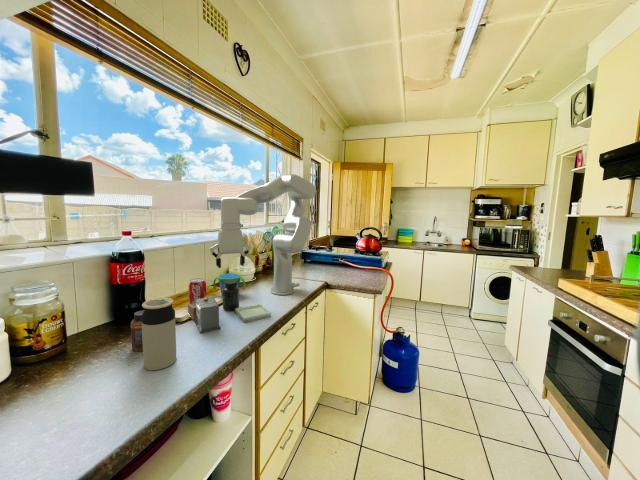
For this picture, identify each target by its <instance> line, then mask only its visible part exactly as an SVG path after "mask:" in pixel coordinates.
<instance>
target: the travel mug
mask: <svg viewBox="0 0 640 480" xmlns="http://www.w3.org/2000/svg"><path fill="white" fill-rule="evenodd" d="M173 303H174V299H173V298H171V297H158V298H157V297H156V298H152V299H149V300H146V301H144V302H143V303H142V304H141V307H142V308H143V310H144V312H143V314H142V316H141V320H142V341H143V351H142V356H143V357H142V358H143V359H142V360H143V368H144V369H146V370H148V371H157V370H158V371H159V370H162V369H165V368H167V367H169V366H171V365H172V364H174V363H175V361H176V360H177V335H176V311H175V309H174V307H173V305H174V304H173Z"/></svg>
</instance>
